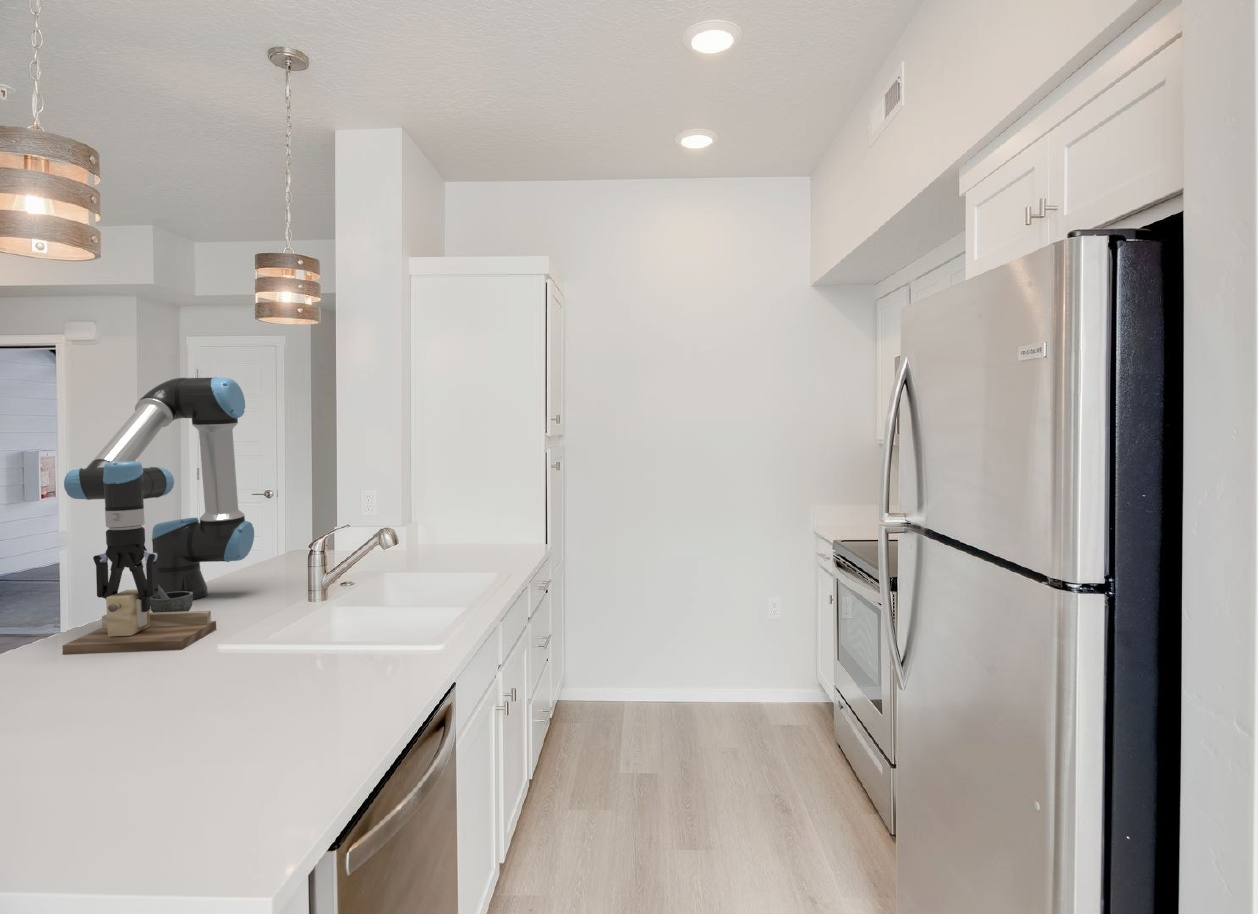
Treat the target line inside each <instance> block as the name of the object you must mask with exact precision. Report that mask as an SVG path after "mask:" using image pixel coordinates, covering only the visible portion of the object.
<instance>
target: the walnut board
mask: <svg viewBox="0 0 1258 914" xmlns="http://www.w3.org/2000/svg"><path fill="white" fill-rule="evenodd" d="M215 630H217V621H216V620H212V610H191V611H190V610H189V611H185V612H157V613H153V612H150V627H148V628H146V629H143V630H141V631H139V632H137V633H135V634H133V635H131V636H108V628H107V613H106V614H104V615H102V616H101V628H98V629H96V630H94V631H93V632H89V633H88V634H86V635H83V636H80V637H78V638H76V639H74V640H71V641H68V642H66V643H64V644H62V655H74V654H75V655H77V654H99V653H100V654H102V653H124V652H125V653H126V652H127V653H128V652H151V651H172V650H173V651H176V650H177V651H178V650H183V649H185V648H187V647H188V646H190V645H193V644H194V643H195V642H197V641H198V640H200V639H202V638H203V637H205V636H207V635H209V634H210V633H212V632H215Z"/></svg>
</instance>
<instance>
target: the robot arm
mask: <svg viewBox="0 0 1258 914" xmlns="http://www.w3.org/2000/svg"><path fill="white" fill-rule="evenodd" d="M245 409H246V400H245V395H244V393H243V390H242V388H241V386H239V383H237V381H235V380H234V379H232V378H229V377H217V376H215V377H176V378H172V379H169V380H166V381H164V382H162V383H160V384H158V385H157V386H155V387H153V388H152V389H151V390H149V391H148V392H147V393H145V394H144V395H143V396H142V397H141V398H140V399H139V400H138V401H137V402H136V404H135V406H134V413H133V414H132V415H131V416H130V417H129V418H128V419H127V420H126V422H124V424H123V425H122V426H121V427H120V428H119V430H118V431H117V432H116V433H115V434H114V435H113V436H112V437H111V439H110V440H109V441H108V442H107V443H106V445H105V446H104V447H103V448H102V449H101V451H100V452H99V453H98V454H97V455H96V456H95V457H94V459H93V460H91V462H90V463H89V464H88V465H87V467H86V468H82V467H79V468H75V469H72V470H69V471H68V472H67V473H66V475H65V477H64V480H63V488H64V490H65V492H66V494H67V495H68V496H69V497H70V498H71V499H75V500H86V501H87V500H88V501H90V500H91V501H92V500H104V515H105V516H104V517H105V518H104V519H105V527H106V528H108V529H106V531H105V539H106V540H105V541H106V542H105V543H106V546H107V548H106V550H105V552H104V553H100V554H97V555H94V556H93V558H92V559H93V562H94V564H95V571H96V574H95V575H96V580H95V581H96V596H97V597H98V598H99V599H100V598H102V599H105V600H106V597H109V596H112V595H114V594H117V593H119V588H120V584H121V581H122V580H121V579H122V575H123V571H124V570H125V568H128V570H129V571H130V572H131V574H132V575H131V576H132V578H133V580H134V583H135V587H136V590H138V593H139V598H138V599H137V600H136V608H137V627H142V626H144V625H146V624H147V611H149V610H150V611H151V607H150V597H151V596H152V595H154V594H157V593H158V592H159V588H158V584H159V586H160V587H161V588H162V589H163V591H164V592H165V593H168V592H180V591H187V592H193V601H194V600H198V599H202V598H204V597H206V596H208V586H207V584H206V580H205V578H204V577H203V574H202V571H201V563H206V562H208V563H210V562H212V563H213V562H214V563H215V562H226V563H229V562H238V561H242V560H244V559H245V558H246V557H247V556H248V555H249V554H250V552H251V550H252V548H253V545H254V542H255V541H254V540H255V528H254V526H253V523H252V522H251V521H248V520H246V518H245V516H246V515H245V513H244V512H242V511H241V510H240V509H239V502H238V501H239V500H238V487H237V471H236V461H235V446H234V445H235V444H234V434H233V430H234V428H235V427H236V426H237V425H238V424H239V421H238V419H239V418H241V417H243V416H244V414H245ZM178 419H191V425H192V426H193V427H194V428H195V429H196V430H197V431H198V435H199V437H198V438H199V448H200V450H199V451H200V462H201V474H202V486H203V487H202V488H203V500H204V501H203V502H204V513H203V514H202V515H201V516H200V517H199V518H198V517H188V518H181V519H180V518H179V519H174V520H170V521H169V520H168V521H164V522H160V523H159V522H158V523H157V524H155V525H154V526H153V528H152V535H151V536H152V538H151V541H152V551H148V549H147V548H146V546H145V543H146V532H145V528H144V527H143V526H144V525H145V505H144V500H146V499H154V498H155V499H158V498H161V497H163V496H167V495H168V494H169V493H171V491H172V490H173V488H174V485H175V478H174V475H173V474H172V472H171V471H169V470H168V469H167V468H165V467H161V466H159V467H157V466H150V467H143V465H142V463H141V462H140V461H139V460H138V461H137V459H138V458H139V457H140V456H141V454H143V452H144V451H145V450H146V449H147V447H148V446H149V444H150V443H151V442H152V441H153V440H154V439H155V437H156V436H157V434H158V433H159V432H160V431H161V429H163V428H165V427H167V426H169V425H170V424H171V423H172V422H173V421H175V420H178ZM144 558H145V559H144ZM143 559H144V560H145V562H146V563H145V571H146V575H145V572H144V564H143ZM109 560H110V562H111V564H110V574H109V564H108V561H109ZM146 579H147V580H146Z"/></svg>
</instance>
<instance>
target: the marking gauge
mask: <svg viewBox="0 0 1258 914" xmlns="http://www.w3.org/2000/svg"><path fill="white" fill-rule="evenodd" d="M138 598H139V593H138V590H137V589H125V590H123V591H120V592H118V593H117V594H114V595H112V596H109V597H106V599H105V601H106V614H107V628H108V636H131V635H133V634H135V633H137V632H139V631H141V630H143V629H146V628H148V627H150V613H151V609H150V610H149V611H147V624H146V625H144V626H142V627H137V608H136V600H137V599H138Z"/></svg>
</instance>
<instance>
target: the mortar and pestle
mask: <svg viewBox="0 0 1258 914" xmlns="http://www.w3.org/2000/svg"><path fill="white" fill-rule="evenodd" d="M146 580H147V578H146ZM158 588H159V592H158V593H157V594H154V595H152V596H151V597H150V612H151V613H157V612H185V611H190V610H191V607H192V605H193V602H194V600H193V592H187V591H180V592H168V593H165V592H164V591H163V589H162V588H161V587H160V586H159V584H158Z"/></svg>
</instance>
